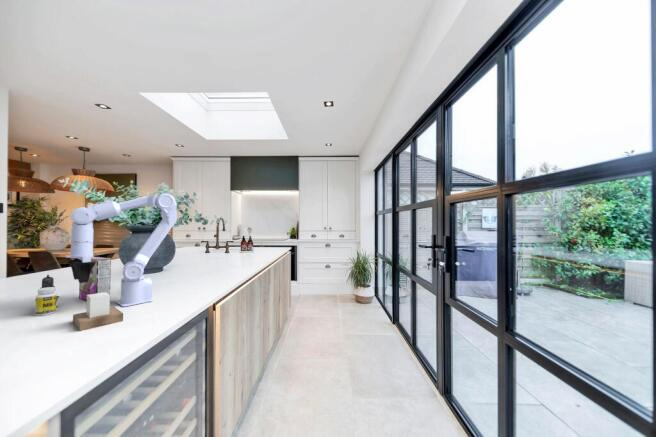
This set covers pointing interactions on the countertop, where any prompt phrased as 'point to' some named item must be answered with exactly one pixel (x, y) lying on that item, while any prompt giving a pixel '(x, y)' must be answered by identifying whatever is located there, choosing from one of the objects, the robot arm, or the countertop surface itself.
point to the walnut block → (97, 319)
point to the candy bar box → (97, 278)
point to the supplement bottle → (45, 301)
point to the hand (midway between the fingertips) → (80, 280)
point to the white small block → (97, 304)
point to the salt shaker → (48, 284)
